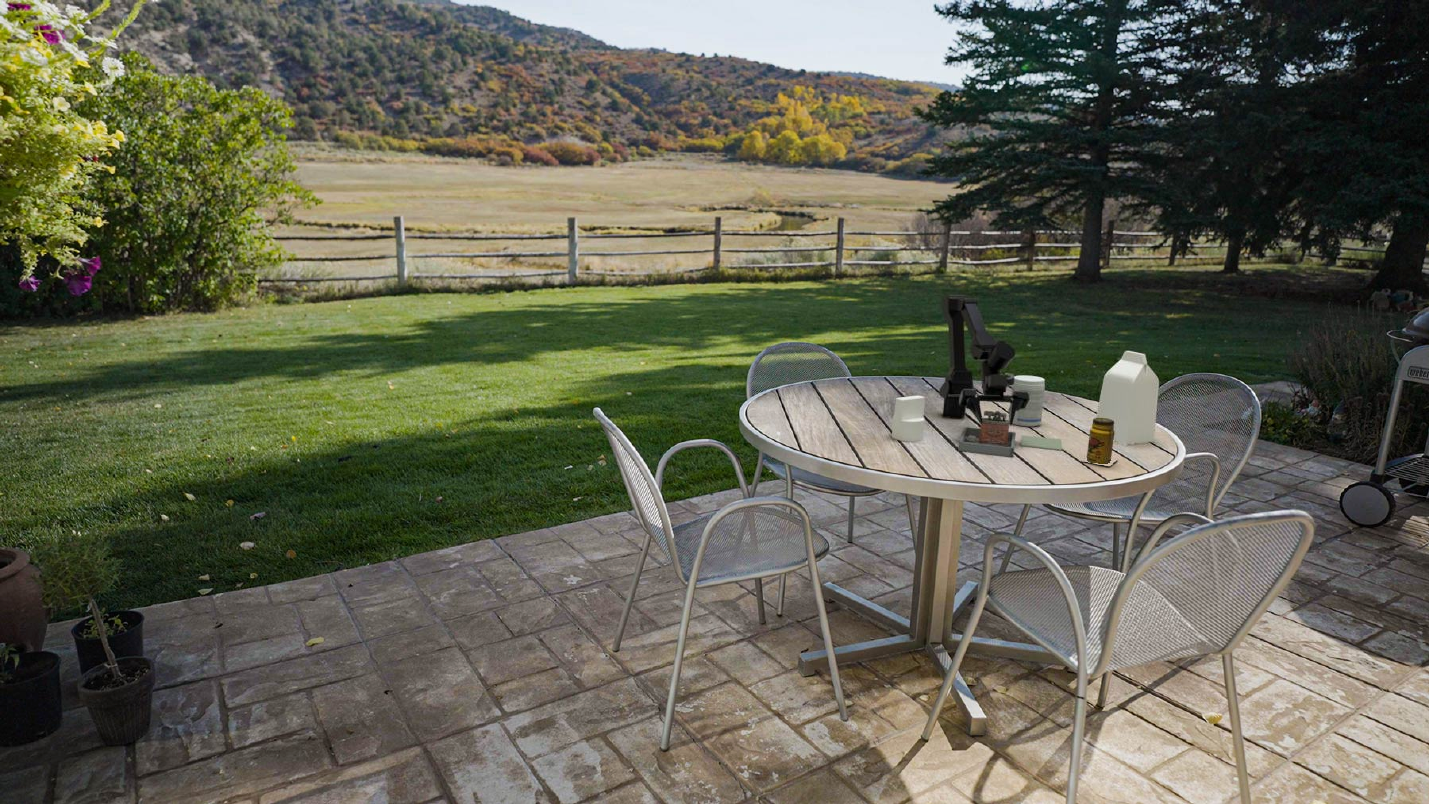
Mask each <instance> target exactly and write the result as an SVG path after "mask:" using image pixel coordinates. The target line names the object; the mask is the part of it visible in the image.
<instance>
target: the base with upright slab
mask: <svg viewBox="0 0 1429 804" xmlns="http://www.w3.org/2000/svg"><path fill="white" fill-rule="evenodd" d="M925 403H926V396H925V397H924V396H923V395H922V396H921V395H911V396H909V395H908V396H902V397H896V398H895V403H894V405H895V406H894V415H893V417H892V428H891V429H892V431H891V437H892V438H893V439H894V440H897V441H901V442H911V443H913V442H921V441H922V440H924V431H925V420H926V419H925V417H924V415H925V405H926V404H925Z"/></svg>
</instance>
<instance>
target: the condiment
mask: <svg viewBox="0 0 1429 804" xmlns="http://www.w3.org/2000/svg"><path fill="white" fill-rule="evenodd" d="M1114 433H1115V432H1114V421H1113V420H1111V419H1107V418H1096V417H1095V418H1093V419H1092V424H1091V428H1090V429H1089V436H1088V437H1089V438H1088V443H1087V445H1088V446H1087V452H1086V458H1087V461H1088V462H1090V463H1098V464H1108V463H1110V461H1111V459H1112V454H1113V447H1114V441H1113V440H1114Z"/></svg>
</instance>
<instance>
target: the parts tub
mask: <svg viewBox="0 0 1429 804" xmlns="http://www.w3.org/2000/svg"><path fill="white" fill-rule="evenodd" d="M1016 434H1017V432H1015V431H1009V432H1008V441H1010V442H1011V446H1008V447H1004V446H995V445H987V444H978V443H977V442H976V438H979V437H980V428H977V427H969V426H964V427H963V429H962V432H961V435H960V438H959V440H958V447H957V448H958V452H965V453H966V452H968V453H976V454H982V455H983V454H985V455H992V456H1000V457H1001V456H1002V457H1010V458H1013V457H1014V451H1015V443H1016ZM966 437H968V441H969V442H968V441H967V442H966V441H965V440H966Z"/></svg>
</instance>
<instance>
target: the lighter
mask: <svg viewBox="0 0 1429 804" xmlns="http://www.w3.org/2000/svg"><path fill="white" fill-rule="evenodd" d="M983 416H984V417H982V424H980V437H978V438H979V439H978V441H977V442H978V444H987V445H995V446H1004V447H1009V445H1008V444H1009V443H1008V432H1010V431H1009V430H1010V421H1009V419H1008V420H1007V416H1008V415H1007V413H1005V412H1000V411H999V410H996V411H990V410H984V411H983ZM985 416H987V417H985Z"/></svg>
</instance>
